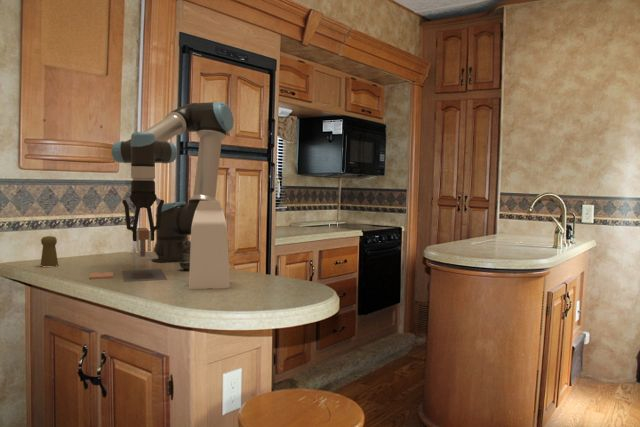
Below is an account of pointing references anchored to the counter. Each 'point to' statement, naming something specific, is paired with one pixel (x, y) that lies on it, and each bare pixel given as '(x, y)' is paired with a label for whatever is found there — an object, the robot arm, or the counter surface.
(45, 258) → the cork
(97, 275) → the tile
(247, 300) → the counter surface
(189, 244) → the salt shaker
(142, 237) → the trowel
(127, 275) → the mat
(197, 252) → the milk
